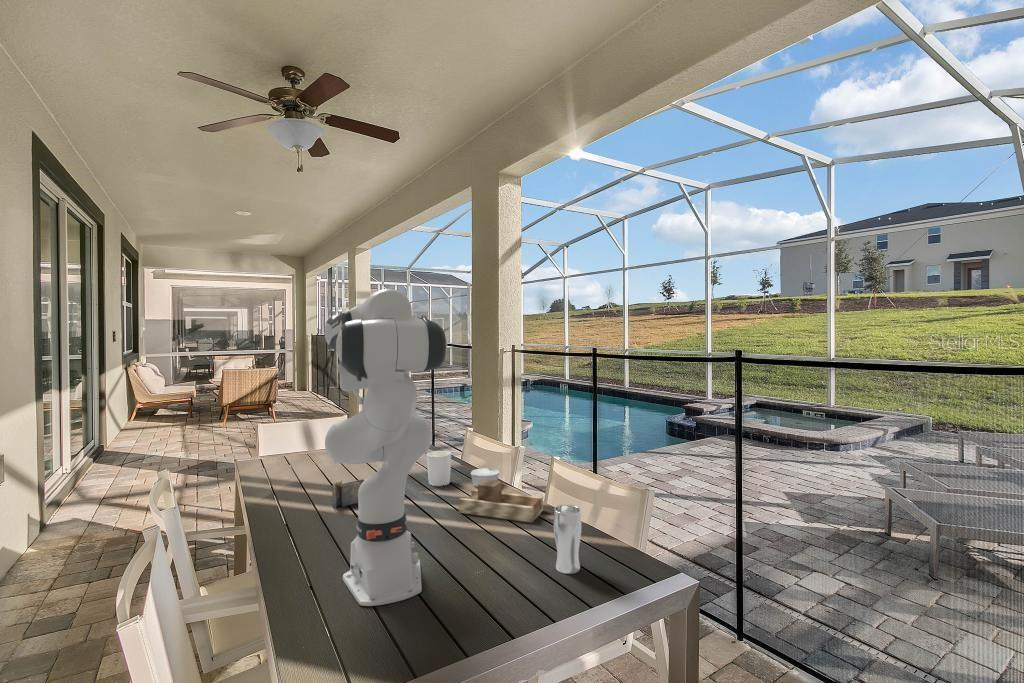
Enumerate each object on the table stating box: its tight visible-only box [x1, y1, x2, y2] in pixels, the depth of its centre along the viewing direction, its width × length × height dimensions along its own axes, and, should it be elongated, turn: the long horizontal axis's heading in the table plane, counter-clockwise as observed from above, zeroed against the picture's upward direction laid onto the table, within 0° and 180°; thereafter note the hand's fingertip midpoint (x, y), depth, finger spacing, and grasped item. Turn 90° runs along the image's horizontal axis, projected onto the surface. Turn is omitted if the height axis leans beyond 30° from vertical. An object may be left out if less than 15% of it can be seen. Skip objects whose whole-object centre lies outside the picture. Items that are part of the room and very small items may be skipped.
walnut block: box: [477, 480, 503, 503], centre depth 161 cm, size 6×6×8 cm
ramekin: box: [470, 467, 500, 488], centre depth 189 cm, size 11×11×5 cm
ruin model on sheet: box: [331, 479, 365, 509], centre depth 169 cm, size 11×3×10 cm, turn 133°
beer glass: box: [553, 504, 582, 575], centre depth 120 cm, size 7×7×15 cm
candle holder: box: [426, 450, 452, 487], centre depth 192 cm, size 10×10×12 cm
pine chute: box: [458, 488, 544, 523], centre depth 160 cm, size 26×11×4 cm, turn 69°
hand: (377, 401), depth 144 cm, fingers open, 8 cm apart
